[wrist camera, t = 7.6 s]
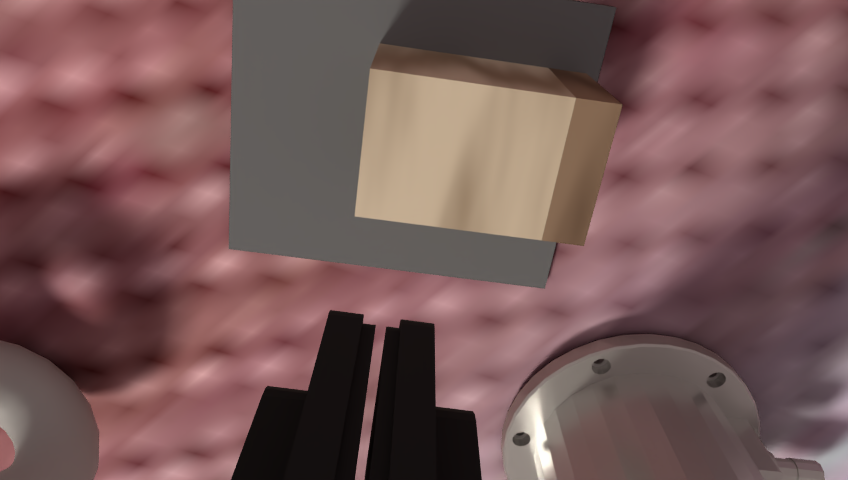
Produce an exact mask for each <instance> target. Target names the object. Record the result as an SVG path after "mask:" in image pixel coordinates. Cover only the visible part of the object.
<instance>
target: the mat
mask: <svg viewBox="0 0 848 480" xmlns="http://www.w3.org/2000/svg"><path fill="white" fill-rule="evenodd" d="M615 11H616V7H613V6H606V5H600V4H593V3H587V2H580V1H574V0H233V31H232V90H231V149H230V209H229V249H234V250H242V251H250V252H258V253H266V254H274V255H282V256H290V257H298V258H305V259H313V260H321V261H329V262H337V263H345V264H353V265H361V266H369V267H377V268H385V269H393V270H401V271H409V272H417V273H425V274H433V275H441V276H449V277H457V278H465V279H473V280H481V281H489V282H497V283H505V284H513V285H521V286H529V287H537V288H545V285H546V282H547V278H548V274H549V270H550V266H551V262H552V258H553V254H554V250H555V246H556V242H549V241H542V240H534V239H526V238H518V237H511V236H503V235H495V234H487V233H480V232H472V231H464V230H456V229H448V228H441V227H433V226H425V225H417V224H410V223H402V222H394V221H386V220H379V219H371V218H363V217H355V207H356V198H357V188H358V179H359V169H360V159H361V150H362V140H363V131H364V121H365V112H366V102H367V93H368V83H369V74H370V67H371V65H372V62H373V59H374V57H375V54H376V52H377V49H378V46H379V44H380V43H381V44H388V45H395V46H401V47H408V48H415V49H422V50H429V51H436V52H443V53H449V54H456V55H463V56H470V57H477V58H484V59H491V60H498V61H504V62H511V63H518V64H525V65H532V66H539V67H546V68H552V69H559V70H566V71H573V72H580V73H587V74H588V75H589V76H590V77H591V78H592V79H593V80H595V81H596V82H598V78H599V74H600V70H601V66H602V62H603V58H604V54H605V50H606V46H607V42H608V39H609V35H610V31H611V27H612V23H613V19H614V15H615Z"/></svg>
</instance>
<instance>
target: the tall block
mask: <svg viewBox="0 0 848 480" xmlns="http://www.w3.org/2000/svg"><path fill="white" fill-rule="evenodd" d="M621 108H622V104H621V103H620V102H619V101H618V100H617V99H615V98H614V97H613V96H612V95H611V94H610V93H609V92H607V91H606V90H605V89H604V88H603V87H602V86H600V85H599V84H598V83H597V82H596V81H595V80H593V79H592V78H591V77H590V76H589V75H588V74H587V73H580V72H573V71H566V70H559V69H552V68H546V67H539V66H532V65H525V64H518V63H511V62H504V61H498V60H491V59H484V58H477V57H470V56H463V55H456V54H449V53H443V52H436V51H429V50H422V49H415V48H408V47H401V46H395V45H388V44H381V43H380V44H379V46H378V49H377V52H376V54H375V57H374V59H373V62H372V65H371V67H370V74H369V83H368V93H367V102H366V112H365V121H364V131H363V140H362V150H361V159H360V169H359V179H358V188H357V198H356V207H355V217H363V218H371V219H379V220H386V221H394V222H402V223H410V224H417V225H425V226H433V227H441V228H448V229H456V230H464V231H472V232H480V233H487V234H495V235H503V236H511V237H518V238H526V239H534V240H542V241H549V242H557V243H565V244H573V245H580V246H584V243H585V240H586V236H587V232H588V229H589V225H590V222H591V218H592V214H593V211H594V207H595V203H596V200H597V196H598V192H599V189H600V185H601V181H602V178H603V174H604V170H605V167H606V163H607V159H608V156H609V152H610V149H611V145H612V141H613V138H614V134H615V130H616V127H617V123H618V119H619V116H620V112H621Z"/></svg>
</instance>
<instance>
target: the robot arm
mask: <svg viewBox="0 0 848 480" xmlns="http://www.w3.org/2000/svg"><path fill="white" fill-rule="evenodd" d="M363 317H364V315H363V314H355V313H348V312H340V311H332V310H330V312H329V315H328V318H327V322H326V326H325V330H324V333H323V337H322V341H321V344H320V348H319V352H318V355H317V359H316V363H315V366H314V370H313V374H312V377H311V381H310V385H309V388H308V391H304V390H296V389H287V388H279V387H271V386H267V387H266V388H265V390H264V393H263V395H262V397H261V400H260V403H259V406H258V408H257V411H256V414H255V416H254V419H253V422H252V425H251V427H250V430H249V433H248V435H247V438H246V441H245V443H244V446H243V449H242V452H241V454H240V457H239V460H238V462H237V465H236V468H235V470H234V473H233V476H232V479H231V480H355V473H356V466H357V459H358V451H359V444H360V437H361V429H362V422H363V415H364V407H365V400H366V393H367V385H368V378H369V370H370V363H371V356H372V348H373V341H374V334H375V326H376V325H370V324H363ZM759 437H760V419H759V415H758V411H757V406H756V403H755V401H754V399H753V397H752V395H751V393H750V391H749V390H748V388H747V386H746V385H745V383H744V382H743V381H742V379H741V378H740V377H739V375H738V374H737V373H736V371H735V370H734V369H733V368H732V367H731V366H730V365H729V364H728V363H727V362H725V361H724V360H723V359H722V358H721V357H720V356H718V355H717V354H715V353H714V352H712V351H710V350H708V349H706V348H704V347H702V346H701V345H699V344H696V343H693V342H690V341H687V340H683V339H680V338H677V337H672V336H663V335H655V334H634V335H621V336H616V337H611V338H606V339H601V340H597V341H594V342H592V343H589V344H586V345H583V346H581V347H578V348H575V349H573V350H571V351H569V352H567V353H566V354H564V355H562V356H560V357H559V358H557V359H555V360H553V361H551V362H550V363H549V364H548V365H546V366H545V367H544V368H543V369H541V370H540V371H539V372H538V373H536V374H535V375H534V376H533V377H532V378H531V379H530V380H529V381H528V383H527V384H526V385H525V386H524V387H523V388H522V389H521V391H520V392H519V393H518V395H517V396H516V398H515V400H514V402H513V403H512V405H511V407H510V409H509V410H508V413H507V416H506V419H505V422H504V426H503V429H502V441H501V451H502V457H503V465H504V470H505V473H506V476H507V480H825V478H824V471H823V469H822V467H821V465H820V464H819V463H818V462H816V461H812V460H803V459H795V458H786V459H782V458H775V457H774V455H773V454H772V453H770V452H768V451H767V449H766V448H765V446H764V445H763V443H762V442H761V440H760V439H759ZM365 480H482V478H481V468H480V457H479V447H478V437H477V427H476V419H475V414H474V412H473V411H466V410H458V409H450V408H442V407H436V405H435V328H434V324H432V323H425V322H417V321H409V320H401V321H400V326H399V328H393V327H386V333H385V339H384V346H383V353H382V360H381V367H380V374H379V381H378V388H377V395H376V402H375V409H374V416H373V423H372V430H371V437H370V443H369V450H368V457H367V465H366V472H365Z"/></svg>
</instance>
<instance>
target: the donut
mask: <svg viewBox="0 0 848 480" xmlns="http://www.w3.org/2000/svg"><path fill="white" fill-rule="evenodd" d="M0 427H1V428H2V429H4V430H5V431H6V433H7V434H8V436H9V437H10V439H11V440H12V442H13V445H14V448H15V459H14V462H13V464H12V465H11V466H10V467H9V468H7V469H5V470H3V471H1V472H0V480H93V479H94V477H95V474H96V472H97V469H98V462H99V430H98V427H97V424H96V421H95V418H94V415H93V411H92V408H91V405H90V404H89V402H88V401H87V399H86V398H85V396H84V395H83V394H82V392H81V391H80V389H79V388H78V386H77V385H76V384H75V382H74V381H73V380H72V379H71V378H70V377H69V376H67V375H66V374H65V373H64V372H63V371H62V370H60V369H59V368H58V367H57V366H56V365H54V364H53V363H52V362H51V361H50V360H48V359H46V358H44V357H42V356H40V355H38V354H36V353H34V352H32V351H30V350H28V349H26V348H24V347H22V346H20V345H17V344H13V343H9V342H5V341H1V340H0Z"/></svg>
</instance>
